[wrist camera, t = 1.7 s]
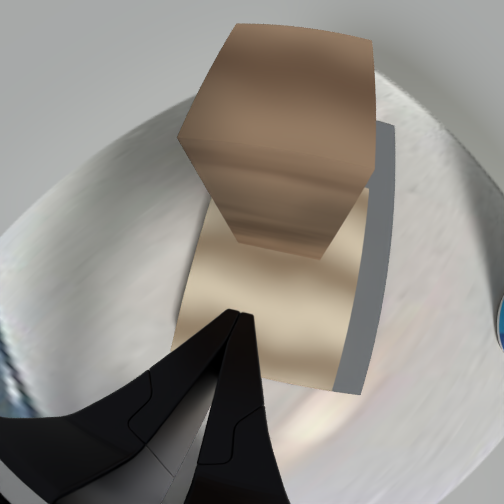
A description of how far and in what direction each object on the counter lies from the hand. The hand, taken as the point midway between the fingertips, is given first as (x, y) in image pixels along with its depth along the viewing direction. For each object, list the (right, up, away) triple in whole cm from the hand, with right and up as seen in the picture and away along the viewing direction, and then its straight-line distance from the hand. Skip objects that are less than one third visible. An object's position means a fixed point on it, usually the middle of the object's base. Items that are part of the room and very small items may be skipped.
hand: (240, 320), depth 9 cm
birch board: (+2, 0, +13) cm, 14 cm away
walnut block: (+3, +6, +12) cm, 14 cm away
